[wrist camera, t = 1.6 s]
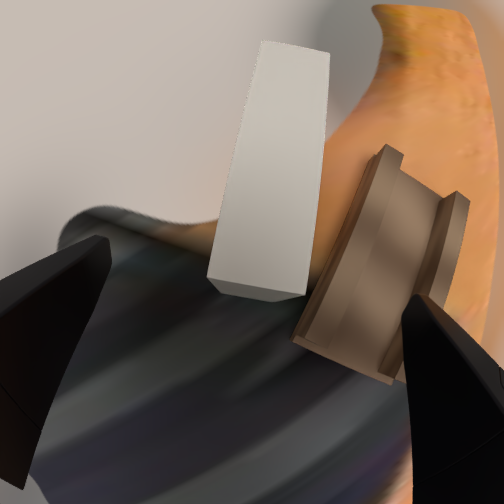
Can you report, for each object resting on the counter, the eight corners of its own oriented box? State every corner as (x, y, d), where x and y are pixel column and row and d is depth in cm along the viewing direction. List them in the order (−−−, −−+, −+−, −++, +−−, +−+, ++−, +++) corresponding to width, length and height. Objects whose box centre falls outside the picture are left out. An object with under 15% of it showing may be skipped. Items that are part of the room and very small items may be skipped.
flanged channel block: (383, 382, 20) (408, 393, 16) (289, 340, 20) (300, 346, 17) (445, 209, 23) (471, 195, 19) (368, 161, 23) (387, 138, 19)
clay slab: (273, 302, 21) (305, 295, 11) (220, 293, 21) (206, 277, 11) (297, 144, 23) (330, 53, 13) (252, 136, 23) (262, 40, 13)
